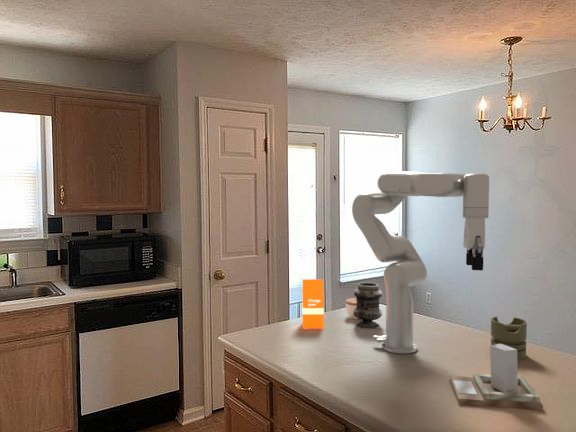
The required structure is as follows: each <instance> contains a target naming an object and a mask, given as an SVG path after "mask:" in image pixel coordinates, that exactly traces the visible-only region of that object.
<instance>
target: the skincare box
mask: <svg viewBox="0 0 576 432" xmlns="http://www.w3.org/2000/svg"><path fill="white" fill-rule="evenodd" d="M489 347H490V348H489V349H490V350H489V351H490V352H489V353H490V375H491V387H493V388H495V389H497V390H499V391H501V392H504V393H517V392H518V377H519V375H518V360H517V350H516V349H514V348H511V347H509V346H506V345H503V344H496V345H491V344H490V346H489Z"/></svg>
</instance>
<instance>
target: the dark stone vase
mask: <svg viewBox="0 0 576 432" xmlns="http://www.w3.org/2000/svg"><path fill="white" fill-rule="evenodd" d="M353 295H354V297H355V298H356V297H357V307H356V308H355V309H354V315H355V316H356V317H357V318H359V319H358V320H361V321H358V322H356V324H355V326H356V327H358V328H360V329H366V330H371V329H377V328H379V327H380V324H379V323H377V322H376V321H375V320H379V319H380V318H382V316H383V311H382V310H381V308H380V298H381V297H382V296H383V291H382V290H381V289H380V288H379V284H378V283H376V282H371V281H363V282H359V283H358V284H357V288H355V289H354V292H353Z"/></svg>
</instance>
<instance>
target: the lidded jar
mask: <svg viewBox="0 0 576 432" xmlns="http://www.w3.org/2000/svg"><path fill="white" fill-rule="evenodd" d="M344 302H345V303H344V304H345V310H346V313H347V315H348V316H349V317H350V318H351V319H354V320H360V319H359V318H357V317H356V316H355V315H354V309H355V308H356V307H357V297H356V296H355V297H350V298H346V299H345V300H344Z"/></svg>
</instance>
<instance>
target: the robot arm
mask: <svg viewBox="0 0 576 432" xmlns="http://www.w3.org/2000/svg"><path fill="white" fill-rule="evenodd" d="M377 187H378V190H379V191H378V192H377V191H371V192H370V191H366V192H362V193H360V194H358V195H357V196H356V197H355V198H354V199H353V202H352V206H351V210H352V211H351V212H352V217H353V220H354V223H355V224H356V225H357V227H358V228H359V230H360V232H361V233H362V234H363V236H364V237H365V240H366V242H367V243H368V246H369V248H370V249H371V251H372V252H373V254H374V256H375V258H376V259H377V260H378V261H379V262H381V263H390V264H388V265H387V266H386V268H385V269H384V272H383V282H384V288H385V297H386V299H385V304H386V305H385V306H386V307H385V308H386V313H385V316H386V318H385V319H386V320H385V322H386V324H385V326H386V328H385V333H384V335H383V334H382V336H381V335H373V342H376V343H378V344H379V343H381V348H382V349H383V350H384V351H386V352H388V353H392V354H401V355H402V354H412V353H415V352H417V351H418V345H417V344H416V343H414V298H413V294H412V291H411V289H410V287H411V288H412V287H414V286H419V285H421V284H423V283H425V281H426V279H427V276H428V272H427V268H426V264H425V263H424V262H423V259H422V258H421V257H420V255H419V253H418V252H417V250H416V248H415V246H414V245H413V244H412V242H411V241H410V239H408V238H407V237H406V236H402V235H392V234H390V232H389V231H388V229H387V227H386V226H385V224H384V223H383V222H382V221H381V220H380V219H379V218H378V217H376V215H386V214H390V213H391V212H393V211H394V210H395V209H396V208H397V207H398V206H399V205H400V204H401V203H402V202H403V201H404V200H406V198H407V197H419V196H420V197H436V198H449V197H453V198H458V197H460V198H461V197H462V218H463V219H464V228H463V243H462V245H463V246H462V247H464V248H465V249H466V253H465V254H466V255H465V256H466V257H465V258H466V259H465V264H466V265H467V266H471V270H472V271H483V270H484V250H485V247H486V219H489V211H490V209H489V208H490V207H489V205H490V204H489V203H490V176H489V175H488V174H487V173H467V174H465V173H464V174H463V173H451V172H449V173H447V172H446V173H445V172H437V173H436V172H420V171H386V172H384V173H382V174H381V175H380V176H378V179H377Z"/></svg>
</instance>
